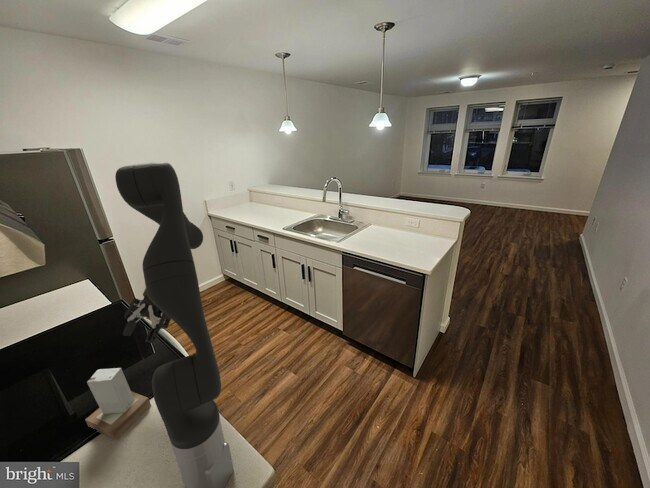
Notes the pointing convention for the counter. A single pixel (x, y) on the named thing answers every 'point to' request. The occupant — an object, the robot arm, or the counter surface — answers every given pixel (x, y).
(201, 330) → the robot arm
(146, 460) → the counter surface
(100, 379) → the skincare box
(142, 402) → the walnut plinth
